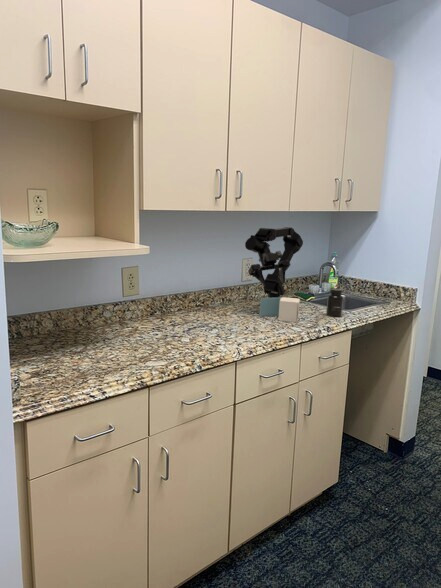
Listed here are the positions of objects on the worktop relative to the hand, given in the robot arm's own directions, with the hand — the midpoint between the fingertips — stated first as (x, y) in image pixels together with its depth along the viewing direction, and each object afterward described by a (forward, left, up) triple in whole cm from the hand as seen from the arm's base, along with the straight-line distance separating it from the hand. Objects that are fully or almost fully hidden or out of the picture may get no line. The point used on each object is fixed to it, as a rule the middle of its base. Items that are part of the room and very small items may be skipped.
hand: (274, 284), depth 201 cm
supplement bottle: (0, +29, -14) cm, 32 cm away
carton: (+8, +5, -14) cm, 17 cm away
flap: (+3, -2, -14) cm, 14 cm away
